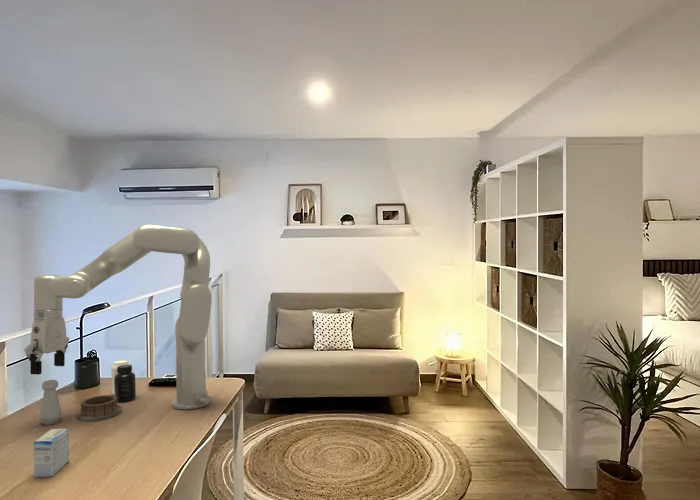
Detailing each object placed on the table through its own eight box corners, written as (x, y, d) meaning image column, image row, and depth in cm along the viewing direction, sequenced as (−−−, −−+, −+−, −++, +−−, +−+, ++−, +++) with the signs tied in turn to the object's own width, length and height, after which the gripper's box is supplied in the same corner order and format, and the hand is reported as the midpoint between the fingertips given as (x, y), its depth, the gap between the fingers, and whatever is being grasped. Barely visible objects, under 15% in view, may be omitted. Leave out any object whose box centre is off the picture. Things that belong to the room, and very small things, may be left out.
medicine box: (51, 462, 122) (50, 428, 122) (69, 461, 123) (69, 428, 123) (33, 477, 114) (32, 441, 114) (53, 476, 115) (52, 440, 115)
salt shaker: (66, 420, 151) (65, 379, 151) (49, 426, 146) (48, 384, 146) (52, 418, 153) (51, 377, 153) (35, 424, 148) (34, 382, 148)
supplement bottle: (139, 396, 174) (139, 363, 174) (129, 403, 167) (128, 368, 167) (121, 396, 175) (121, 363, 174) (110, 402, 168) (109, 368, 168)
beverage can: (118, 391, 181) (118, 359, 180) (134, 391, 180) (133, 359, 180) (108, 396, 174) (107, 363, 174) (124, 397, 174) (123, 364, 173)
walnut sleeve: (129, 411, 159) (129, 397, 159) (91, 424, 148) (90, 409, 148) (107, 404, 166) (106, 391, 166) (68, 416, 155) (67, 402, 154)
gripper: (38, 319, 140) (37, 378, 140) (78, 311, 157) (78, 363, 157) (14, 318, 141) (14, 377, 141) (57, 310, 158) (57, 362, 158)
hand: (48, 369), depth 149 cm, fingers open, 9 cm apart
